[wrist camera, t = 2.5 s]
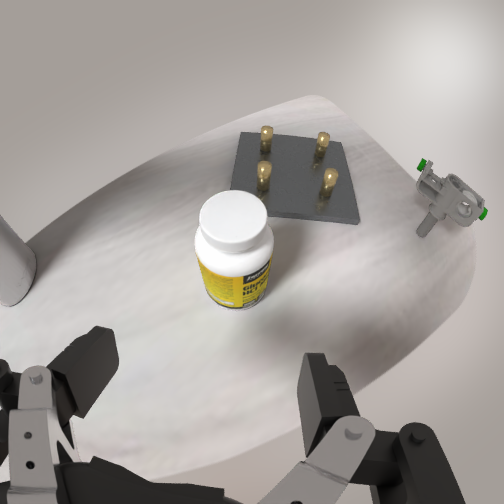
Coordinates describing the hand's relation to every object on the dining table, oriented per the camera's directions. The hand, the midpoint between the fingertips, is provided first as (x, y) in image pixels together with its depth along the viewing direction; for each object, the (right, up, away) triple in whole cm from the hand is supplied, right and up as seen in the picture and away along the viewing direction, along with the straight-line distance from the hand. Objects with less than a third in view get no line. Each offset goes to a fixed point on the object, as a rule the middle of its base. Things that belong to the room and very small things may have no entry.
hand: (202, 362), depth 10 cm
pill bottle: (0, +1, +18) cm, 18 cm away
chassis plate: (+8, +15, +26) cm, 31 cm away
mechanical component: (+25, +7, +22) cm, 34 cm away
